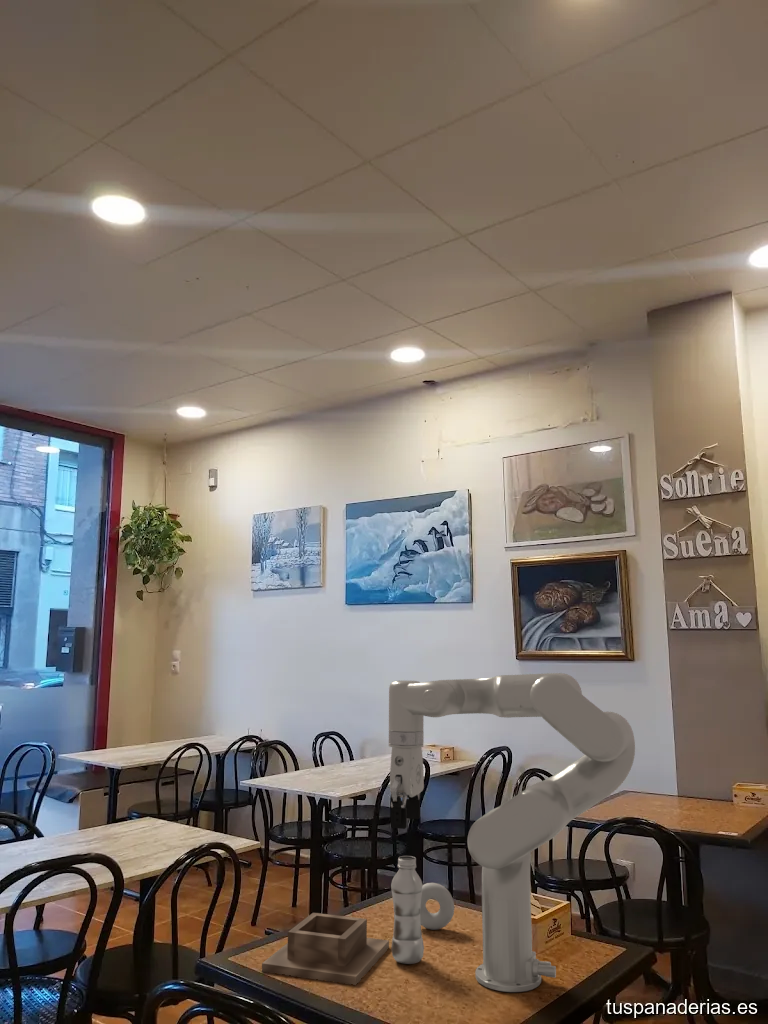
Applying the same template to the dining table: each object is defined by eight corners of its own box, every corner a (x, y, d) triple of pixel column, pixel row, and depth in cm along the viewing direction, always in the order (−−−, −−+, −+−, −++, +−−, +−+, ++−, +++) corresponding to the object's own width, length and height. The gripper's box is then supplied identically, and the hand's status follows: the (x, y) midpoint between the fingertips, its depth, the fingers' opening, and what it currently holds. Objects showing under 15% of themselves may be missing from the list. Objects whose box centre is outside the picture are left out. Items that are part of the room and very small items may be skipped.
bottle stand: (388, 947, 165) (388, 915, 166) (356, 985, 147) (356, 948, 148) (303, 937, 171) (304, 905, 173) (261, 971, 153) (262, 936, 154)
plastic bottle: (421, 969, 154) (420, 862, 158) (388, 966, 155) (388, 861, 159) (426, 957, 160) (425, 855, 164) (394, 954, 161) (394, 853, 165)
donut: (410, 930, 176) (410, 883, 177) (412, 925, 179) (412, 879, 181) (454, 933, 174) (453, 886, 176) (455, 928, 177) (454, 881, 179)
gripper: (411, 744, 156) (410, 833, 153) (433, 736, 173) (433, 816, 170) (376, 742, 159) (375, 830, 156) (401, 734, 175) (401, 813, 172)
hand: (405, 823), depth 163 cm, fingers open, 9 cm apart
